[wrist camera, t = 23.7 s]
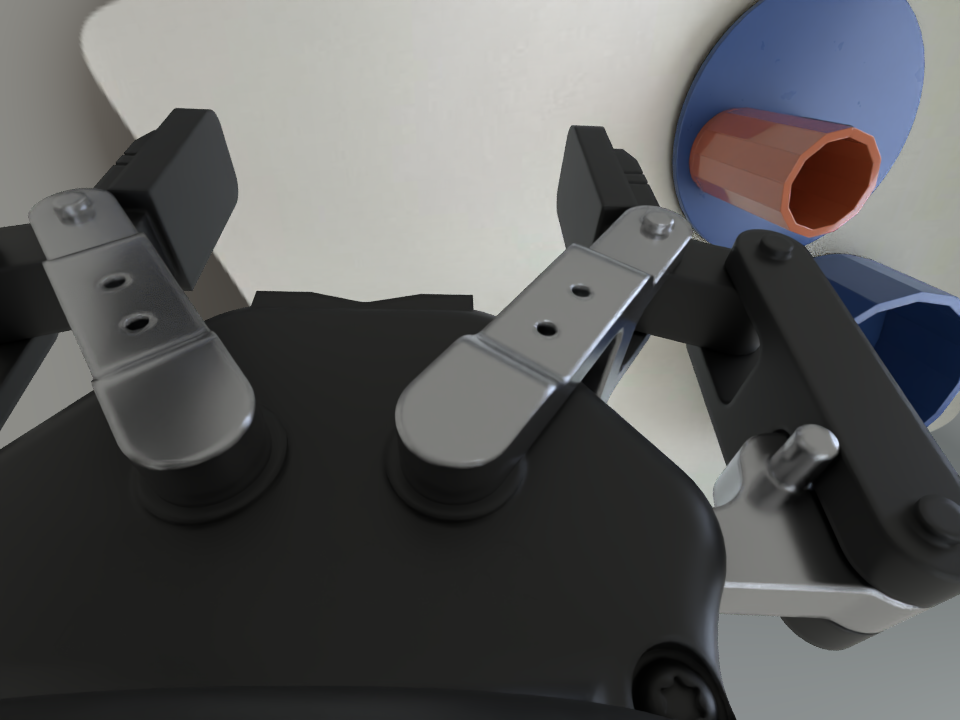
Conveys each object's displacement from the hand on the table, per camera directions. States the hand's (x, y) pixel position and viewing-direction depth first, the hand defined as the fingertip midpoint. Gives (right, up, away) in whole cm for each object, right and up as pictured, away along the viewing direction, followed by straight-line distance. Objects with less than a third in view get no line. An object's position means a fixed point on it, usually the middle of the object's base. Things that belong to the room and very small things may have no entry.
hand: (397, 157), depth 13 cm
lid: (+25, +12, +26) cm, 38 cm away
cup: (+20, +10, +25) cm, 33 cm away
